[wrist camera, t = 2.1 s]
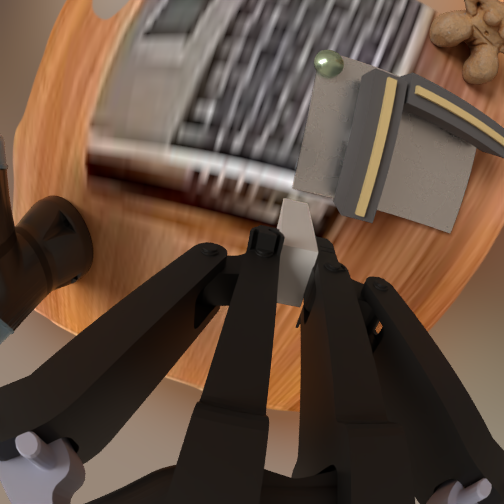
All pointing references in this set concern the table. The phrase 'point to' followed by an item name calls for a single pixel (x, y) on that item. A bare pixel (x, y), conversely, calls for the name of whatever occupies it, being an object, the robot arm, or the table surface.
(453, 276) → the table surface
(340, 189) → the striped dark bar
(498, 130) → the curved tan-striped slab
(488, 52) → the figurine
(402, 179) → the level plate
